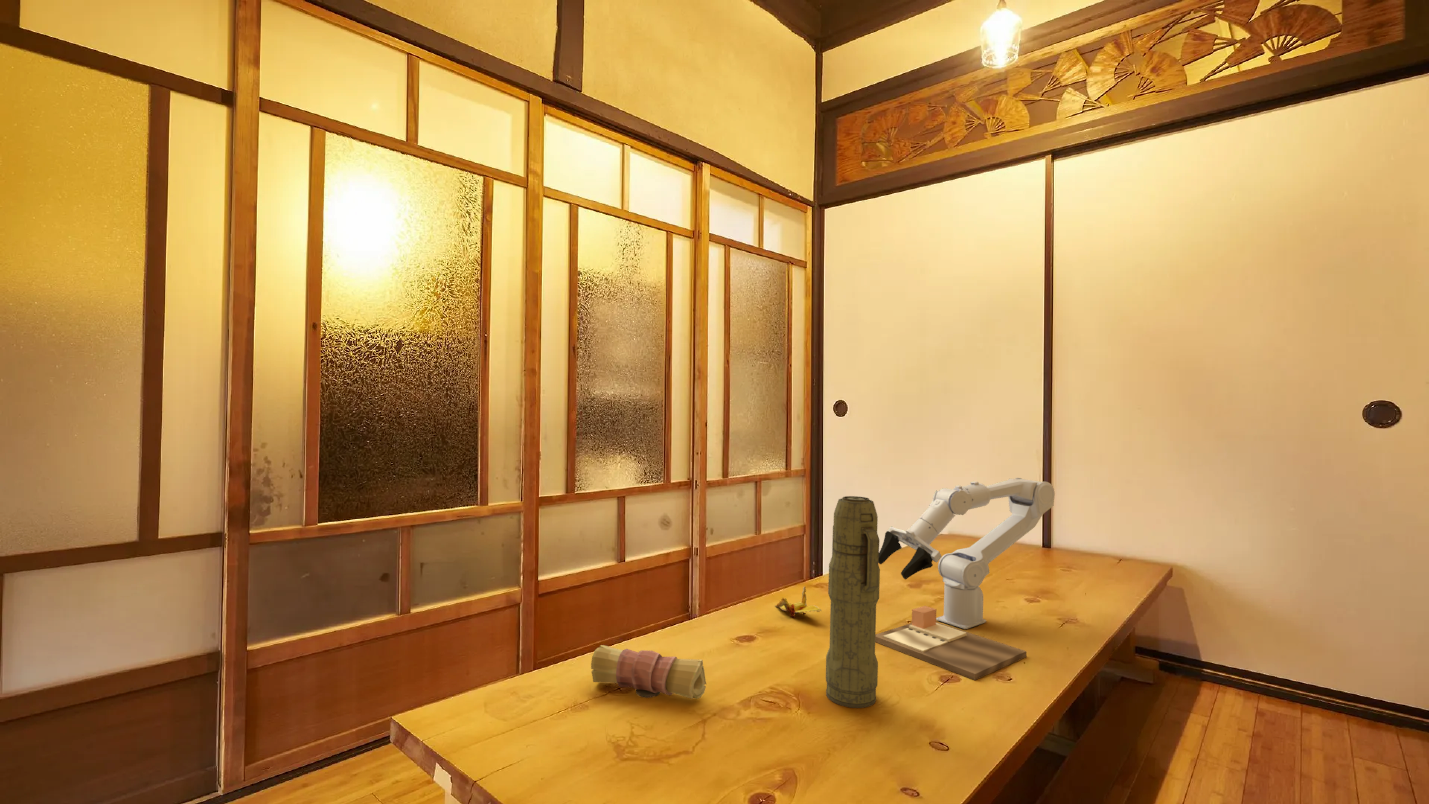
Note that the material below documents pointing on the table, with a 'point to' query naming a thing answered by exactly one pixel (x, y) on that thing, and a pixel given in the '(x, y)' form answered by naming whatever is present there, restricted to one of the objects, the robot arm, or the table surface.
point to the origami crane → (797, 605)
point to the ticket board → (953, 651)
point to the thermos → (853, 604)
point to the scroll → (649, 672)
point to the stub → (933, 625)
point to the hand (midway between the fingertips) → (890, 568)
